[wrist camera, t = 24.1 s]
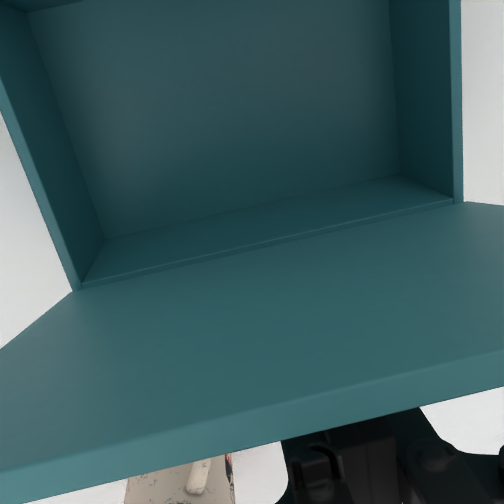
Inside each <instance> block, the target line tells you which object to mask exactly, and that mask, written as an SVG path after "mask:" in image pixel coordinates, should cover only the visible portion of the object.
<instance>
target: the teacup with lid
mask: <svg viewBox="0 0 504 504" xmlns="http://www.w3.org/2000/svg"><path fill="white" fill-rule="evenodd" d="M124 504H235V495H234V484H233V473H232V462H231V453H228V454H224V455H220V456H216V457H212V458H208V459H204V460H200V461H196V462H191V463H187V464H183V465H179V466H175V467H171V468H167V469H163V470H159V471H155V472H150V473H146V474H142V475H138V476H134V477H130V478H128V482H127V487H126V493H125V499H124Z"/></svg>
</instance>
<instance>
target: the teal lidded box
mask: <svg viewBox="0 0 504 504" xmlns="http://www.w3.org/2000/svg"><path fill="white" fill-rule="evenodd" d="M0 111H1V114H2V116H3V119H4V121H5V124H6V126H7V129H8V131H9V134H10V136H11V139H12V141H13V144H14V146H15V149H16V151H17V154H18V156H19V159H20V161H21V163H22V166H23V168H24V171H25V173H26V176H27V178H28V181H29V183H30V186H31V188H32V191H33V193H34V196H35V198H36V201H37V203H38V206H39V208H40V211H41V213H42V216H43V218H44V221H45V223H46V226H47V228H48V231H49V233H50V236H51V238H52V241H53V243H54V246H55V248H56V251H57V253H58V256H59V258H60V261H61V263H62V266H63V268H64V271H65V273H66V276H67V278H68V281H69V283H70V286H71V288H72V291H73V292H75V291H79V290H83V289H88V288H92V287H96V286H101V285H105V284H110V283H114V282H118V281H123V280H127V279H131V278H136V277H140V276H144V275H149V274H153V273H157V272H162V271H166V270H171V269H175V268H179V267H184V266H188V265H192V264H197V263H201V262H205V261H210V260H214V259H218V258H223V257H227V256H231V255H236V254H240V253H245V252H249V251H253V250H258V249H262V248H266V247H271V246H275V245H279V244H284V243H288V242H292V241H297V240H301V239H306V238H310V237H314V236H319V235H323V234H327V233H332V232H336V231H340V230H345V229H349V228H353V227H358V226H362V225H366V224H371V223H375V222H380V221H384V220H388V219H393V218H397V217H401V216H406V215H410V214H414V213H419V212H423V211H427V210H432V209H436V208H441V207H445V206H449V205H454V204H458V203H462V202H463V136H462V67H461V0H0Z"/></svg>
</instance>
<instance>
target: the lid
mask: <svg viewBox="0 0 504 504" xmlns="http://www.w3.org/2000/svg"><path fill="white" fill-rule="evenodd" d="M503 386H504V206H502V205H493V204H485V203H476V202H468V201H467V202H462V203H458V204H454V205H449V206H445V207H441V208H436V209H432V210H427V211H423V212H419V213H414V214H410V215H406V216H401V217H397V218H393V219H388V220H384V221H380V222H375V223H371V224H366V225H362V226H358V227H353V228H349V229H345V230H340V231H336V232H332V233H327V234H323V235H319V236H314V237H310V238H306V239H301V240H297V241H292V242H288V243H284V244H279V245H275V246H271V247H266V248H262V249H258V250H253V251H249V252H245V253H240V254H236V255H231V256H227V257H223V258H218V259H214V260H210V261H205V262H201V263H197V264H192V265H188V266H184V267H179V268H175V269H171V270H166V271H162V272H157V273H153V274H149V275H144V276H140V277H136V278H131V279H127V280H123V281H118V282H114V283H110V284H105V285H101V286H96V287H92V288H88V289H83V290H79V291H75V292H71V293H69V294H68V295H67V296H65V297H64V298H63V299H62V300H61V301H59V302H58V303H57V304H56V305H54V306H53V307H52V308H51V309H49V310H48V311H47V312H46V313H44V314H43V315H42V316H41V317H40V318H38V319H37V320H36V321H35V322H33V323H32V324H31V325H30V326H28V327H27V328H26V329H25V330H24V331H22V332H21V333H20V334H19V335H17V336H16V337H15V338H14V339H12V340H11V341H10V342H9V343H7V344H6V345H5V346H4V347H3V348H1V349H0V504H23V503H28V502H32V501H36V500H40V499H44V498H48V497H52V496H56V495H60V494H64V493H69V492H73V491H77V490H81V489H85V488H89V487H93V486H97V485H101V484H105V483H110V482H114V481H118V480H122V479H126V478H130V477H134V476H138V475H142V474H146V473H150V472H155V471H159V470H163V469H167V468H171V467H175V466H179V465H183V464H187V463H191V462H196V461H200V460H204V459H208V458H212V457H216V456H220V455H224V454H228V453H232V452H237V451H241V450H245V449H249V448H253V447H257V446H261V445H265V444H269V443H273V442H278V441H282V440H286V439H290V438H294V437H298V436H302V435H306V434H310V433H314V432H319V431H323V430H327V429H331V428H335V427H339V426H343V425H347V424H351V423H355V422H360V421H364V420H368V419H372V418H376V417H380V416H384V415H388V414H392V413H396V412H400V411H405V410H409V409H413V408H417V407H421V406H425V405H429V404H433V403H437V402H441V401H446V400H450V399H454V398H458V397H462V396H466V395H470V394H474V393H478V392H482V391H487V390H491V389H495V388H499V387H503Z"/></svg>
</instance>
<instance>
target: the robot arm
mask: <svg viewBox="0 0 504 504" xmlns="http://www.w3.org/2000/svg"><path fill="white" fill-rule="evenodd" d="M281 445H282V450H283V454H284V459H285V463H286V467H287V472H288V485H287V488H286V491H285V493H284V495H283V496H282V497H281V498H280V500H279V501H278V502H276V503H275V504H402V503H403V504H504V445H503V446H502V447H501V448H500V451H499V455H486V454H472V453H466V452H462V451H459V450H457V449H456V448H455V447H454V446H453V445H452V444H450V443H448V442H446V441H444V440H442V439H441V438H440V437H439V436H438V435H437V433H436V432H435V430H434V429H433V427H432V426H431V424H430V423H429V421H428V420H427V418H426V417H425V415H424V414H423V412H422V411H421V409H420V408H419V407H417V408H413V409H409V410H405V411H400V412H396V413H392V414H388V415H384V416H380V417H376V418H372V419H368V420H364V421H360V422H355V423H351V424H347V425H343V426H339V427H335V428H331V429H327V430H323V431H319V432H314V433H310V434H306V435H302V436H298V437H294V438H290V439H286V440H282V441H281Z"/></svg>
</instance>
